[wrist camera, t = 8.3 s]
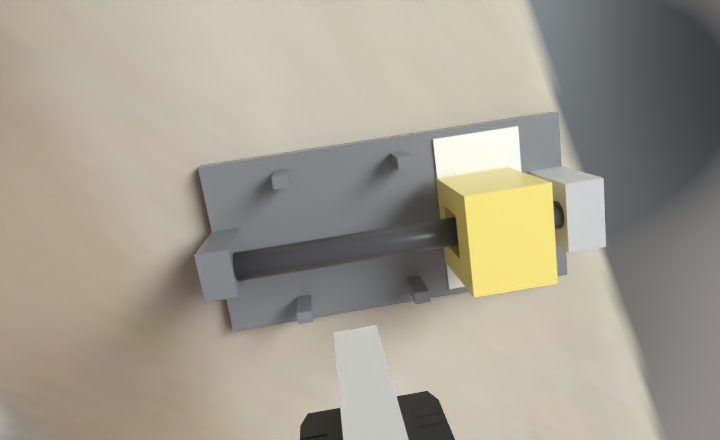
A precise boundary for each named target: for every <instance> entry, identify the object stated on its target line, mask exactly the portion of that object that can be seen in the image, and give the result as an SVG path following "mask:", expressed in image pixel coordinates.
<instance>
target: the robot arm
mask: <svg viewBox="0 0 720 440" xmlns="http://www.w3.org/2000/svg"><path fill="white" fill-rule="evenodd" d="M333 334H334V345H335V356H336V366H337V377H338V388H339V399H340V408H337V409H331V410H326V411H320V412H314V413H309V414H307V416H306V418H305V419H304V421H303V423H302V424H301V427H300V440H455V439H454V436H453V434H452V431H451V429H450V427H449V424H448V423H447V419H446V417H445V414H444V413H443V410H442V407H441V405H440V402H439V400H438V399H437V398H436V397H434V396H433V395H432V394H431V393H429V392H428V391H425V392H419V393H413V394H408V395H402V396H396V393H395V389H394V386H393V382H392V378H391V375H390V371H389V368H388V364H387V360H386V357H385V353H384V350H383V346H382V343H381V339H380V335H379V332H378V328H377V325H374V326H368V327H362V328H356V329H350V330H344V331H339V332H333Z"/></svg>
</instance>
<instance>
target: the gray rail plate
mask: <svg viewBox="0 0 720 440" xmlns="http://www.w3.org/2000/svg"><path fill="white" fill-rule="evenodd" d="M505 167H509V168H512V169H515V170H518V171H521V172H524V173H527V174H529V175H532V176H535V177H538V178H541V179H544V180H546V181H549V182H552V191H553V208H554V225H555V242H556V259H557V276H562V275H567V260H566V251H567V252H568V253H571V252H577V251H583V250H589V249H595V248H601V247H606V238H605V210H604V181H603V178H601V177H598V176H594V175H590V174H587V173H583V172H580V171H576V170H572V169H569V168H565V167H561V149H560V131H559V113H557V112H549V113H542V114H535V115H529V116H522V117H516V118H509V119H503V120H496V121H490V122H483V123H476V124H470V125H463V126H457V127H450V128H444V129H437V130H431V131H424V132H417V133H411V134H404V135H398V136H391V137H385V138H378V139H372V140H365V141H358V142H352V143H345V144H339V145H332V146H326V147H319V148H313V149H306V150H299V151H293V152H286V153H280V154H273V155H267V156H260V157H254V158H247V159H240V160H234V161H227V162H221V163H214V164H208V165H201V166H200V167H198V171H199V176H200V180H201V185H202V190H203V194H204V199H205V203H206V208H207V213H208V217H209V222H210V227H211V231H212V232H211V233H210V235H209V236H208V237H207V239H206V240H205V241H204V243H203V244H202V245H201V247H200V248H199V249H198V251H197V252H196V253H195V255H194V257H195V262H196V266H197V270H198V275H199V279H200V284H201V288H202V292H203V297H204V301H205V302H211V301H217V300H223V299H226V300H227V305H228V310H229V314H230V319H231V323H232V328H233V331H237V330H243V329H249V328H255V327H261V326H267V325H273V324H279V323H285V322H291V321H296V320H298V324H302V323H308V322H313V318H314V317H320V316H326V315H332V314H338V313H344V312H350V311H356V310H361V309H367V308H373V307H379V306H385V305H391V304H397V303H403V302H409V301H414V302H415V304H420V303H426V302H430V298H432V297H438V296H444V295H450V294H456V293H462V292H468V290H467V288H466V287H465V286H464V285H463V283H462V282H461V281H460V280H459V278H458V277H457V276H456V275H455V274H454V272H453V271H452V270H451V269H450V267H449V266H448V265H447V264H446V262H445V254H444V247H450V246H456V245H459V244H458V234H457V224H456V217H451V218H445V219H441V218H440V209H439V200H438V191H437V182H436V178H442V177H448V176H454V175H461V174H467V173H473V172H480V171H486V170H492V169H499V168H505Z"/></svg>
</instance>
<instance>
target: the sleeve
mask: <svg viewBox="0 0 720 440" xmlns="http://www.w3.org/2000/svg"><path fill="white" fill-rule="evenodd" d="M436 182H437V191H438V200H439V209H440V218H441V219H445V218H451V217H456V224H457V234H458V244H459V245H456V246H450V247H444V254H445V262H446V264H447V265H448V266H449V267H450V269H451V270H452V271H453V272H454V274H455V275H456V276H457V277H458V278H459V280H460V281H461V282H462V283H463V285H464V286H465V287H466V288H467V290H468V291H469V292H470V293H471V295H472V296H473V297H474V298H475V297H481V296H487V295H493V294H499V293H505V292H510V291H516V290H522V289H528V288H534V287H540V286H546V285H552V284H558V276H557V259H556V242H555V225H554V208H553V191H552V182H549V181H546V180H544V179H541V178H538V177H535V176H532V175H529V174H527V173H524V172H521V171H518V170H515V169H512V168H509V167H505V168H499V169H492V170H486V171H480V172H473V173H467V174H461V175H454V176H448V177H442V178H436Z"/></svg>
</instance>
